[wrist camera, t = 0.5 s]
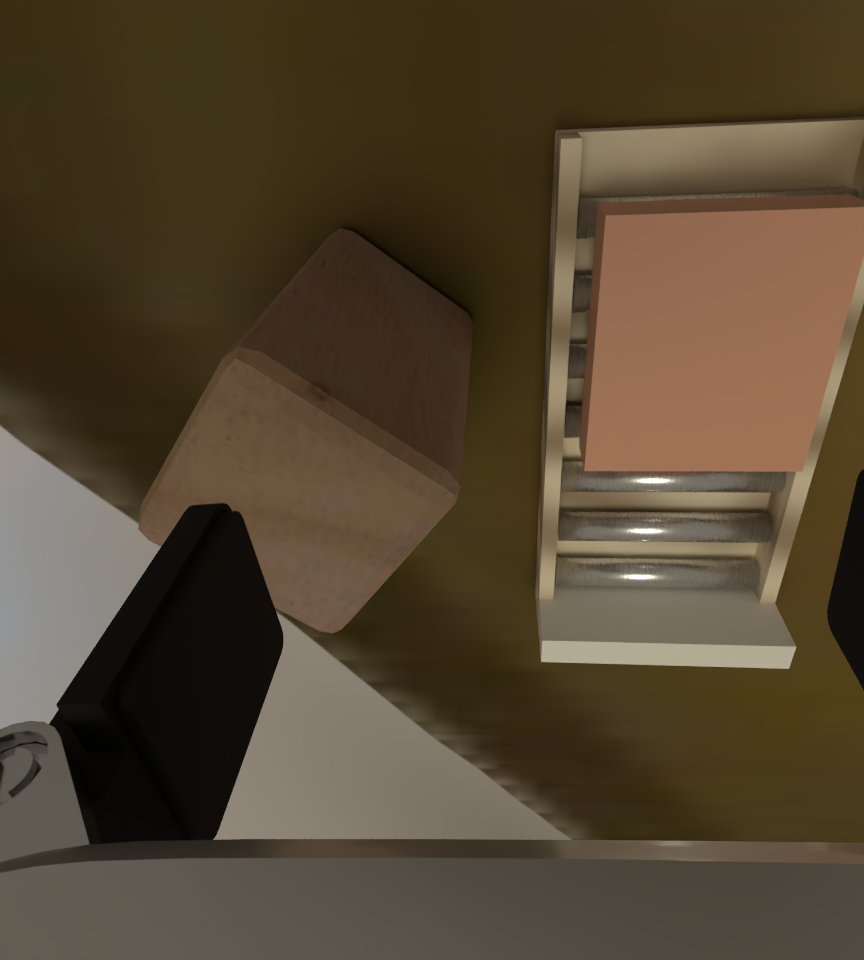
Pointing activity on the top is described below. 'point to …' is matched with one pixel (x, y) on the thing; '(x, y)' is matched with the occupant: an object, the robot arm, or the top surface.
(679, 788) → the top surface
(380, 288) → the wooden block
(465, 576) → the top surface
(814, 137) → the roller bed
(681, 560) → the rollers
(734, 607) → the end stop
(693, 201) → the slab
